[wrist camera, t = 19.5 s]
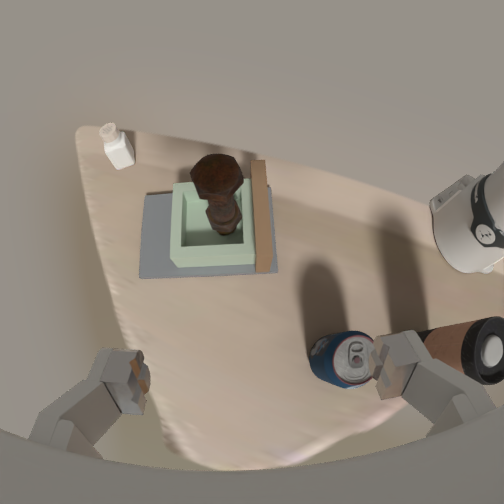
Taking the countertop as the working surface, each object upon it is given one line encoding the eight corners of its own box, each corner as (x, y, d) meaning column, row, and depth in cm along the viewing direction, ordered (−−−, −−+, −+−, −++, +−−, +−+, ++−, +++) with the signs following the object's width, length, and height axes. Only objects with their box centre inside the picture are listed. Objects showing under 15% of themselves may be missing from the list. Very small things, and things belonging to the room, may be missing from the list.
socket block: (177, 267, 45) (169, 258, 41) (180, 198, 49) (173, 183, 44) (255, 264, 46) (255, 253, 41) (251, 194, 49) (251, 178, 44)
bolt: (203, 216, 46) (185, 160, 32) (234, 204, 47) (228, 145, 33) (217, 250, 45) (202, 204, 30) (249, 237, 45) (249, 186, 31)
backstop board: (141, 278, 46) (118, 263, 37) (146, 198, 50) (129, 170, 42) (277, 272, 46) (283, 255, 38) (270, 190, 51) (273, 159, 42)
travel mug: (391, 335, 43) (471, 320, 24) (430, 329, 43) (514, 310, 24) (393, 382, 41) (473, 393, 22) (432, 374, 41) (517, 376, 22)
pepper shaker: (136, 165, 52) (118, 133, 43) (116, 172, 52) (96, 142, 43) (134, 149, 53) (118, 117, 44) (115, 155, 53) (97, 125, 44)
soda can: (351, 379, 41) (384, 388, 30) (306, 381, 41) (326, 392, 30) (353, 334, 43) (385, 328, 32) (308, 335, 43) (328, 329, 32)
